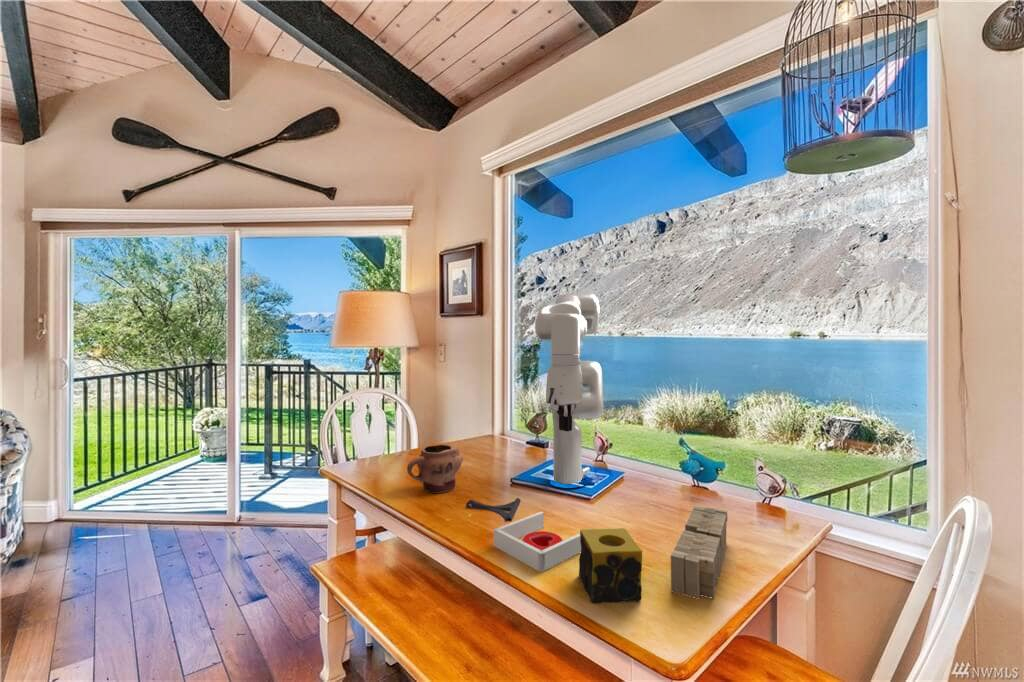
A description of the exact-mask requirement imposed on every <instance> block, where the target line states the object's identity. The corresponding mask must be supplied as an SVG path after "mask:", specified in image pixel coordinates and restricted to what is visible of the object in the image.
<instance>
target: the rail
mask: <svg viewBox="0 0 1024 682" xmlns="http://www.w3.org/2000/svg"><path fill="white" fill-rule="evenodd" d="M544 515H545V514H544V512H543V511H539V512H536V513H533V514H531V515H528V516H526V517H522V518H521V519H517V520H515V521H511V522H510V523H508V524H504V525H502V526H500V527H497V528H496V527H495V528H494V529H493V547H495V548H497V549H498V550H500V551H502V552H504V553H506V554H507V555H510V556H511V557H513V558H515V559H516V560H517V561H520V562H522V563H524V564H525V565H528V566H529V567H531V568H532V569H535V570H536V571H538V572H539V573H541V572H542V573H543V571H544V572H545V570H546V571H547V569H548V570H550V569H552V568H553V566H554V565H555V566H557V565H559V564H561V563H563V562H565V561H567V560H569V559H571V558H573V557H575V556H577V555H579V554H580V552H581V543H580V532H579V533H577V534H575V535H572V536H570V537H567V538H566V539H563V541H562V542H559V543H557V544H555V545H553V546H551V547H549V548H546V549H544V550H542V551H541V550H539V549H537V548H535V547H533V546H531V545H529V544H527V543H525V542H523V541H522V539H521V538H523V537H524V536H525V535H527V534H529V533H532V532H537V531H540V530H543V529H544V528H545V525H544V523H545V522H544V521H545V520H544V517H545V516H544ZM539 529H540V530H539ZM578 553H579V554H578ZM576 554H577V555H576ZM574 555H575V556H574ZM572 556H573V557H572ZM570 557H571V558H570ZM568 558H569V559H568ZM566 559H567V560H566ZM564 560H565V561H564ZM562 561H563V562H562ZM560 562H561V563H560ZM558 563H559V564H558ZM556 564H557V565H556ZM555 566H554V567H555ZM551 567H552V568H551ZM549 568H550V569H549Z"/></svg>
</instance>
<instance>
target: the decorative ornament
mask: <svg viewBox="0 0 1024 682" xmlns="http://www.w3.org/2000/svg"><path fill="white" fill-rule="evenodd" d="M521 541H523V542H525V543H527V544H529V545H531V546H533V547H535V548H537V549H539V550H541V551H542V550H544V549H546V548H549V547H551V546H553V545H555V544H557V543H559V542H562V541H564V539H563V538H562V537H561V536H560V535H559V534H557V533H554V532H550V531H546V530H545V531H541V530H537V531H535V532H532V533H529V534H527V535H525V536H523V537H522V539H521Z"/></svg>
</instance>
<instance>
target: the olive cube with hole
mask: <svg viewBox="0 0 1024 682" xmlns="http://www.w3.org/2000/svg"><path fill="white" fill-rule="evenodd" d="M579 533H580V543H581V553H579V560H578V564H579V566H578V577H580V578H579V579H580V580H581V584H582V583H583V584H582V585H583V588H584V590H585V592H587V593H588V594H587V593H586V594H587V596H588V595H589V596H588V597H589V601H590V602H591V603H593V604H603V603H602V602H608V603H609V602H615V603H628V602H641V600H642V591H643V590H642V589H643V588H642V568H643V550H642V549H641V547H640V545H638V544H637V543H636V542H635V540H634V539H633V538H632V536H631V535H630V534H629V531H627V529H626V528H625V527H624V528H622V527H621V528H598V529H597V528H589V529H587V528H586V529H585V528H584V529H583V528H582V529H580V530H579ZM621 601H622V602H621ZM623 601H625V602H623ZM596 602H598V603H596ZM599 602H601V603H599Z"/></svg>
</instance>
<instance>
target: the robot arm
mask: <svg viewBox="0 0 1024 682" xmlns="http://www.w3.org/2000/svg"><path fill="white" fill-rule="evenodd" d="M600 310H601V309H600V301H599V299H598V297H597V296H596V295H595V294H594V293H590V292H589V293H588V292H587V293H583V292H581V293H575V292H573V293H565V294H561V295H559V296H558V298H556V300H555V301H554V303H553V304H551V305H548V306H545V307H542V308H541V309H540V310H538V313H537V315H536V318H535V321H534V323H535V324H534V330H535V334H536V337H537V338H538V339H539V340H541V341H550V366H548V369H547V370H548V371H547V375H546V383H545V384H546V385H545V386H546V387H545V388H546V389H545V401H546V404H549V405H550V406H549V409H550V410H551V415H552V426H553V429H552V431H553V433H552V434H553V441H552V442H553V452H552V453H553V454H552V455H553V476H554V480H555V481H556V482H559V483H563V484H571V483H579V482H581V480H582V478H584V475H585V474H588V473H590V472H591V469H590V467H588V466H587V467H582V466H583V465H582V464H583V463H582V461H583V458H582V457H583V454H582V450H583V449H582V448H583V447H582V445H583V440H582V439H583V437H582V436H583V434H582V429H581V427H580V426H579V425H578V423H577V422H576V421H575V420H578V419H583V420H584V419H585V420H596V419H597V420H598V419H600V418H601V417H602V415H604V414H603V413H604V387H603V381H604V380H603V370H602V367H601V365H600V363H599V362H597V361H595V360H581V340H582V339H583V338H584V337H585V336H586V335H593V334H596V332H597V331H598V329H599V323H600V321H599V320H600ZM586 389H587V390H586Z"/></svg>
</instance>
